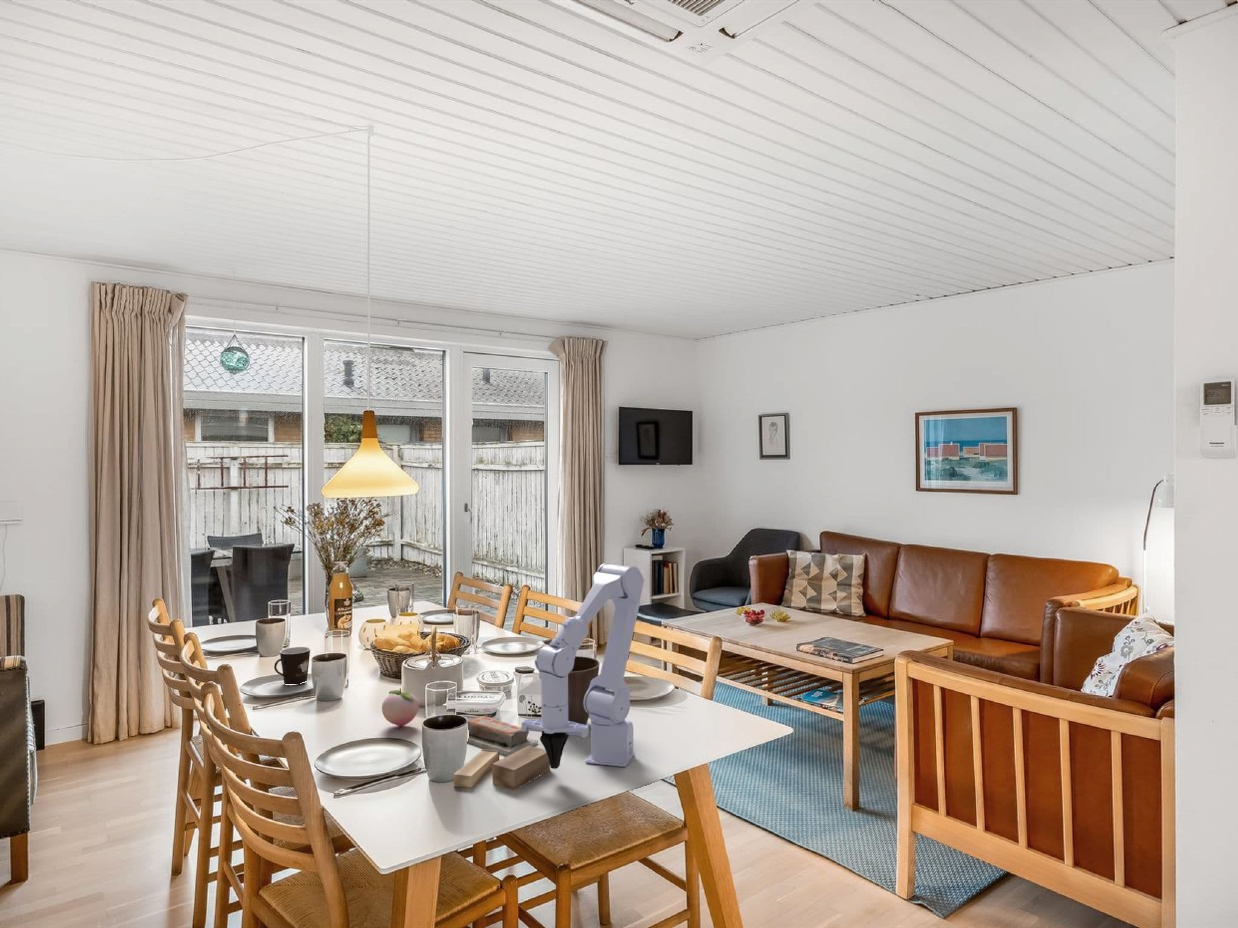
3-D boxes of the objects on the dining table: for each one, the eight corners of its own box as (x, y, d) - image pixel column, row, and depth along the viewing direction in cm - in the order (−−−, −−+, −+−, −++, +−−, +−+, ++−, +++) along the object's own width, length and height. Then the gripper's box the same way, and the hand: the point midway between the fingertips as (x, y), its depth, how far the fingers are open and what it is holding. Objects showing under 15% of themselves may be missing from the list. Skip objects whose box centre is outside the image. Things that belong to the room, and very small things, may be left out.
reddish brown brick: (456, 721, 188) (487, 710, 196) (457, 741, 188) (487, 729, 196) (508, 737, 177) (538, 725, 185) (508, 758, 177) (538, 745, 185)
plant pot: (544, 738, 188) (544, 673, 188) (538, 718, 203) (538, 657, 203) (605, 733, 191) (604, 669, 191) (594, 713, 206) (594, 654, 206)
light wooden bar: (499, 761, 174) (499, 750, 174) (471, 787, 161) (471, 775, 161) (483, 760, 175) (482, 748, 175) (453, 785, 162) (453, 773, 162)
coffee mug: (304, 677, 242) (304, 645, 242) (315, 682, 236) (314, 650, 236) (265, 684, 234) (265, 651, 234) (275, 690, 228) (275, 657, 228)
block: (550, 771, 170) (549, 750, 170) (514, 791, 160) (514, 769, 159) (528, 765, 173) (528, 745, 173) (492, 784, 163) (492, 763, 163)
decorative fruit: (374, 729, 195) (373, 690, 195) (396, 719, 203) (396, 681, 202) (403, 735, 191) (402, 695, 191) (424, 724, 198) (424, 686, 198)
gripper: (515, 706, 162) (516, 770, 162) (581, 712, 158) (581, 777, 158) (528, 696, 169) (528, 757, 169) (591, 701, 165) (592, 764, 165)
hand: (555, 766), depth 164 cm, fingers closed
